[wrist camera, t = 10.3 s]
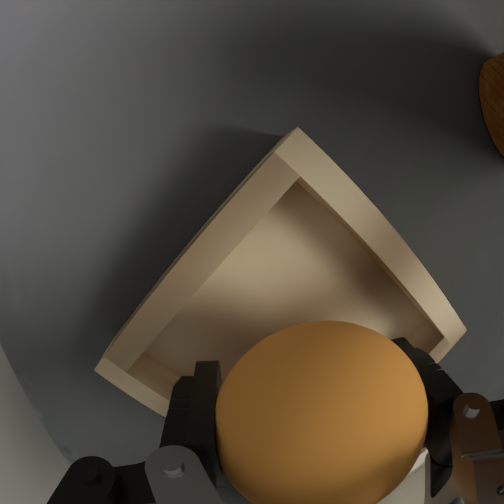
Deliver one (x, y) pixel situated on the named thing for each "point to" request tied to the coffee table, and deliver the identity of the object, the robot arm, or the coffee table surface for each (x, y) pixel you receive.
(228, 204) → the tray
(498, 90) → the disposable coffee cup
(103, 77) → the coffee table surface
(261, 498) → the ball
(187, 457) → the robot arm
